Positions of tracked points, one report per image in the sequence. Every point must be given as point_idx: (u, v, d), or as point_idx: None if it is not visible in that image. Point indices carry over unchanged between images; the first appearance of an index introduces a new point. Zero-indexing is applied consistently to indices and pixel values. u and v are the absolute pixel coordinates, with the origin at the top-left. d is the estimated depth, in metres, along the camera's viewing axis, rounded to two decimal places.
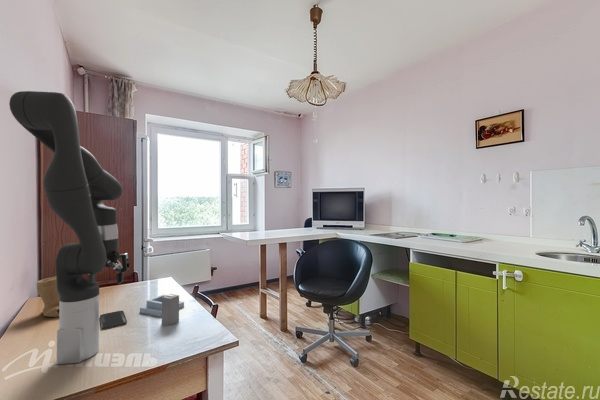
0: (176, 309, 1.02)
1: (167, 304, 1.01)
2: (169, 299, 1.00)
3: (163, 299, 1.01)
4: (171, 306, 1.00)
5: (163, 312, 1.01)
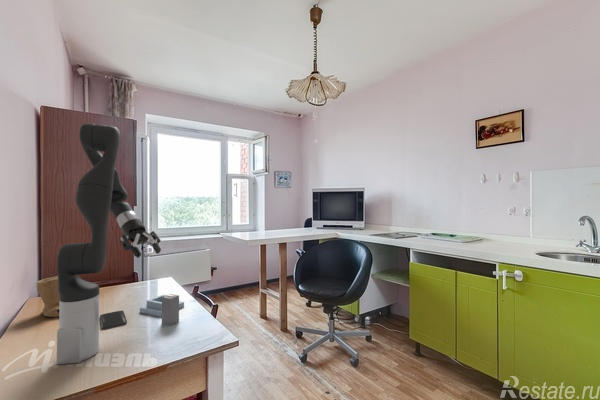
0: (176, 309, 1.02)
1: (167, 304, 1.01)
2: (169, 299, 1.00)
3: (163, 299, 1.01)
4: (171, 306, 1.00)
5: (163, 312, 1.01)
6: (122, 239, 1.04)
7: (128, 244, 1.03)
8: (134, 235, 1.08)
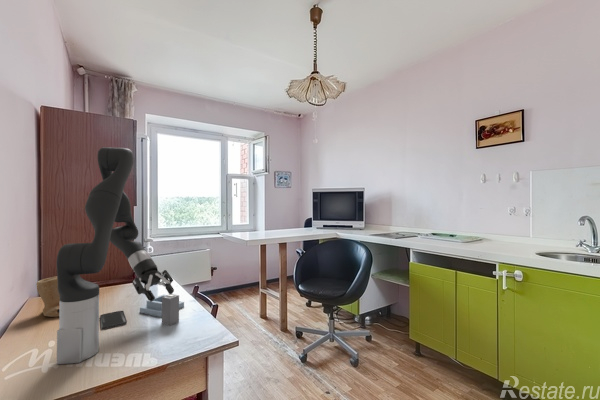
0: (176, 309, 1.02)
1: (167, 304, 1.01)
2: (169, 299, 1.00)
3: (163, 299, 1.01)
4: (171, 306, 1.00)
5: (163, 312, 1.01)
6: (135, 282, 1.00)
7: (141, 288, 0.99)
8: (147, 277, 1.05)
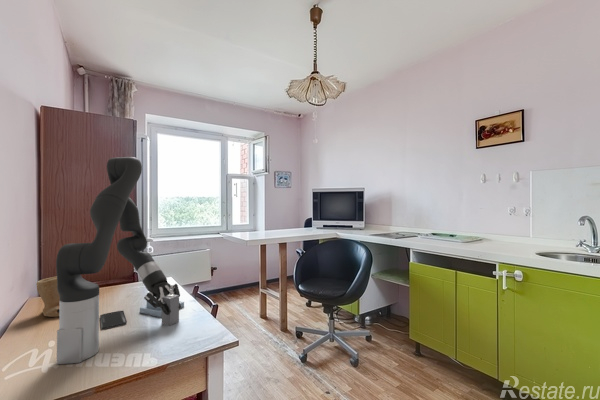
0: (176, 309, 1.02)
1: (167, 304, 1.01)
2: (169, 299, 1.00)
3: None
4: (171, 306, 1.00)
5: (163, 312, 1.01)
6: (148, 298, 0.98)
7: (157, 302, 0.99)
8: (157, 290, 1.02)
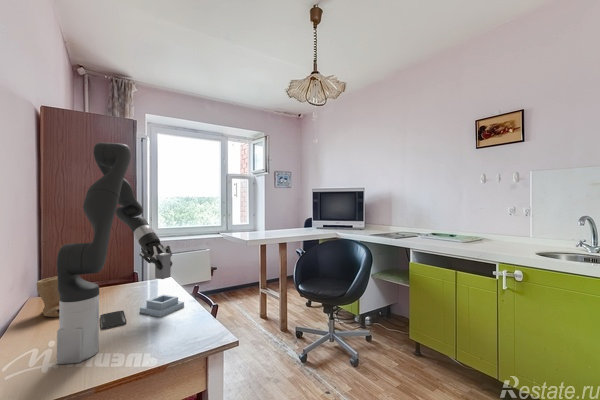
0: (168, 265, 1.16)
1: (160, 260, 1.14)
2: (161, 256, 1.13)
3: None
4: (163, 262, 1.14)
5: (156, 268, 1.15)
6: (143, 254, 1.12)
7: (151, 258, 1.12)
8: (151, 249, 1.15)
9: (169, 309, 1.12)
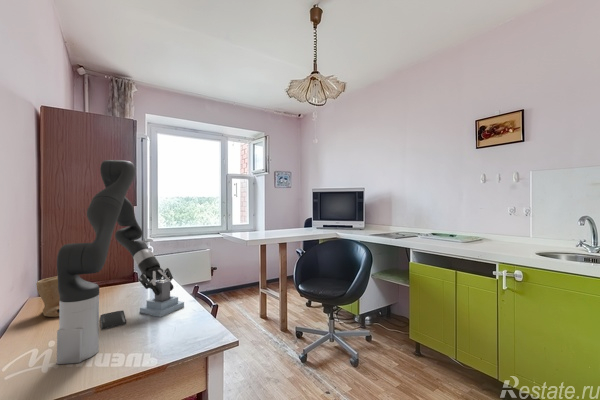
0: (167, 293, 1.15)
1: (159, 288, 1.13)
2: (161, 283, 1.13)
3: (156, 284, 1.14)
4: (163, 290, 1.13)
5: (156, 295, 1.14)
6: (141, 279, 1.11)
7: (148, 283, 1.11)
8: (150, 273, 1.15)
9: (169, 309, 1.12)
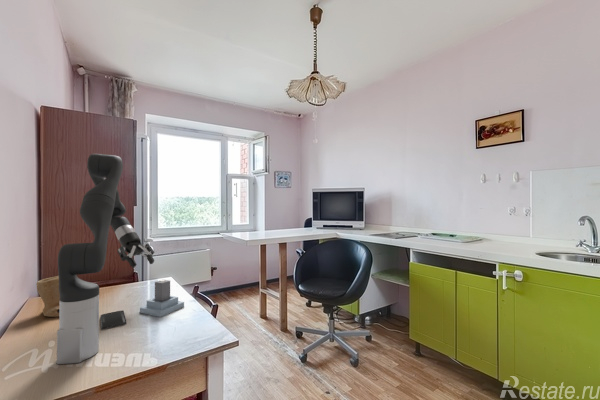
0: (167, 293, 1.15)
1: (159, 288, 1.13)
2: (161, 283, 1.13)
3: (156, 284, 1.14)
4: (163, 290, 1.13)
5: (156, 295, 1.14)
6: (120, 250, 1.16)
7: (125, 255, 1.15)
8: (130, 247, 1.20)
9: (169, 309, 1.12)
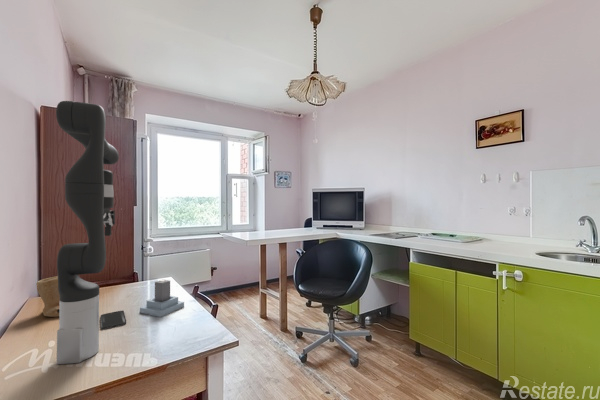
0: (167, 293, 1.15)
1: (159, 288, 1.13)
2: (161, 283, 1.13)
3: (156, 284, 1.14)
4: (163, 290, 1.13)
5: (156, 295, 1.14)
6: None
7: None
8: None
9: (169, 309, 1.12)
